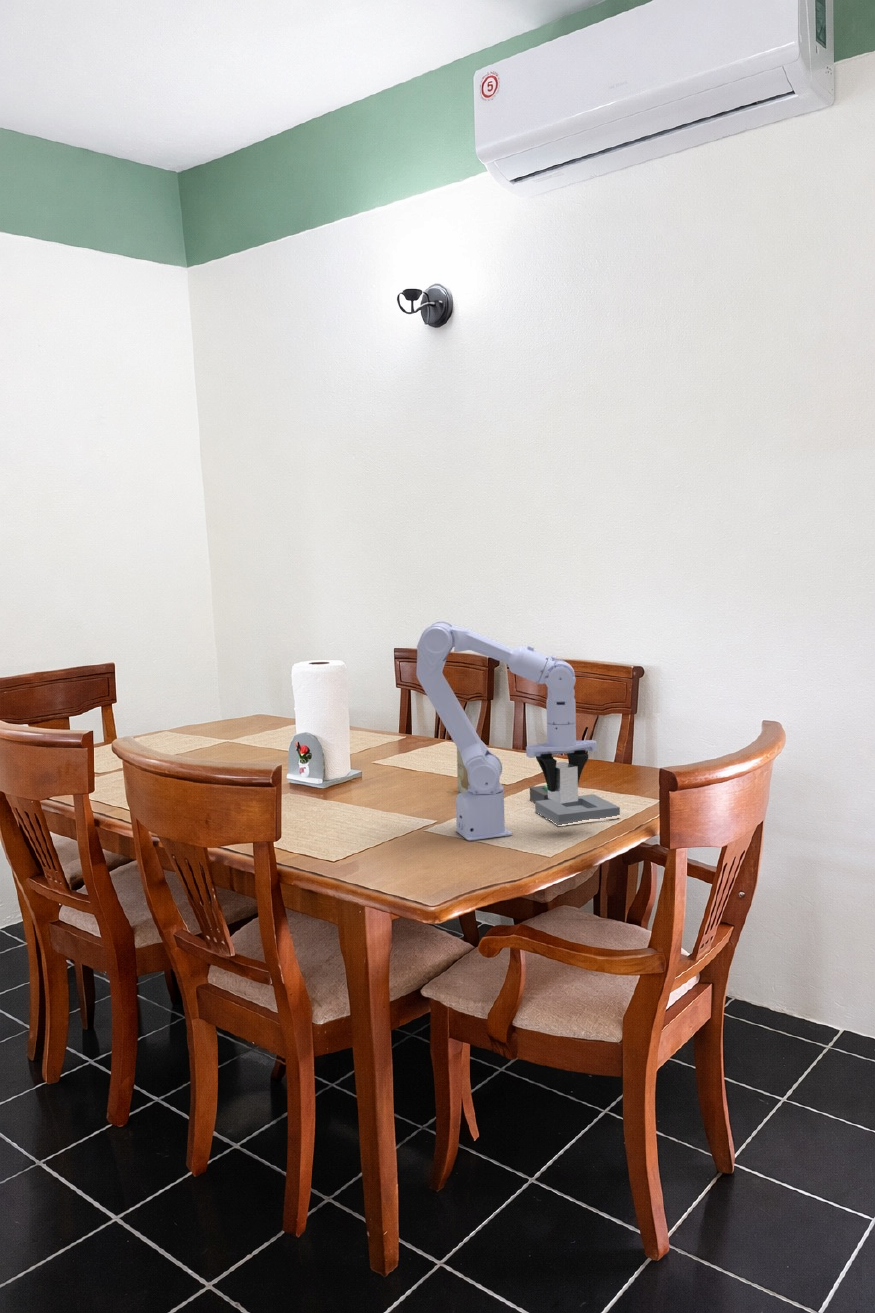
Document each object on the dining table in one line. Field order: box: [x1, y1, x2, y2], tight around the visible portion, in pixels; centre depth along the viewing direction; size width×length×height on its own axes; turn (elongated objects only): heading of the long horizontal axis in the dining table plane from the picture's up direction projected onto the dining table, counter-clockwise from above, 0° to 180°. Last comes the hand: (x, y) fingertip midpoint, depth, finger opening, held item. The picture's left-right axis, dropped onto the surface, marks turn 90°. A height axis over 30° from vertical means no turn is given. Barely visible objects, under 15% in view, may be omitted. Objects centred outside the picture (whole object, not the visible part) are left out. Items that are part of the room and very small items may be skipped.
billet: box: [548, 761, 579, 804], centre depth 199 cm, size 4×5×7 cm
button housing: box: [529, 785, 549, 803], centre depth 224 cm, size 8×8×3 cm
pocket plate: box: [534, 793, 621, 826], centre depth 212 cm, size 14×12×2 cm
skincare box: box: [456, 747, 470, 793], centre depth 234 cm, size 6×4×12 cm
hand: (562, 789), depth 199 cm, fingers closed on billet, 4 cm apart
